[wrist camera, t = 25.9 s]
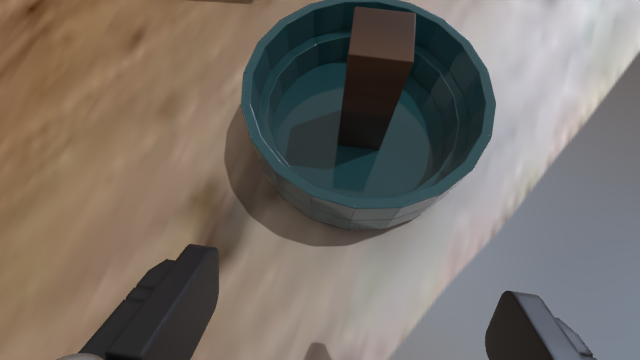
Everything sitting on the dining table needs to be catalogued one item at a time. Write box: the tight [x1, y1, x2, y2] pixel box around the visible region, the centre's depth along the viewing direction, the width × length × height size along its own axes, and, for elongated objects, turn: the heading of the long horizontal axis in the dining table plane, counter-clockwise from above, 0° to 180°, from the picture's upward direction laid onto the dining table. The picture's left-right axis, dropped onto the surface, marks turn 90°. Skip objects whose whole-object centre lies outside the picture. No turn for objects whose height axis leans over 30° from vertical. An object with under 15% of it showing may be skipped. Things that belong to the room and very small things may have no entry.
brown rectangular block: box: [337, 7, 416, 150], centre depth 20 cm, size 3×3×9 cm
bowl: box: [241, 0, 496, 229], centre depth 23 cm, size 15×15×6 cm
